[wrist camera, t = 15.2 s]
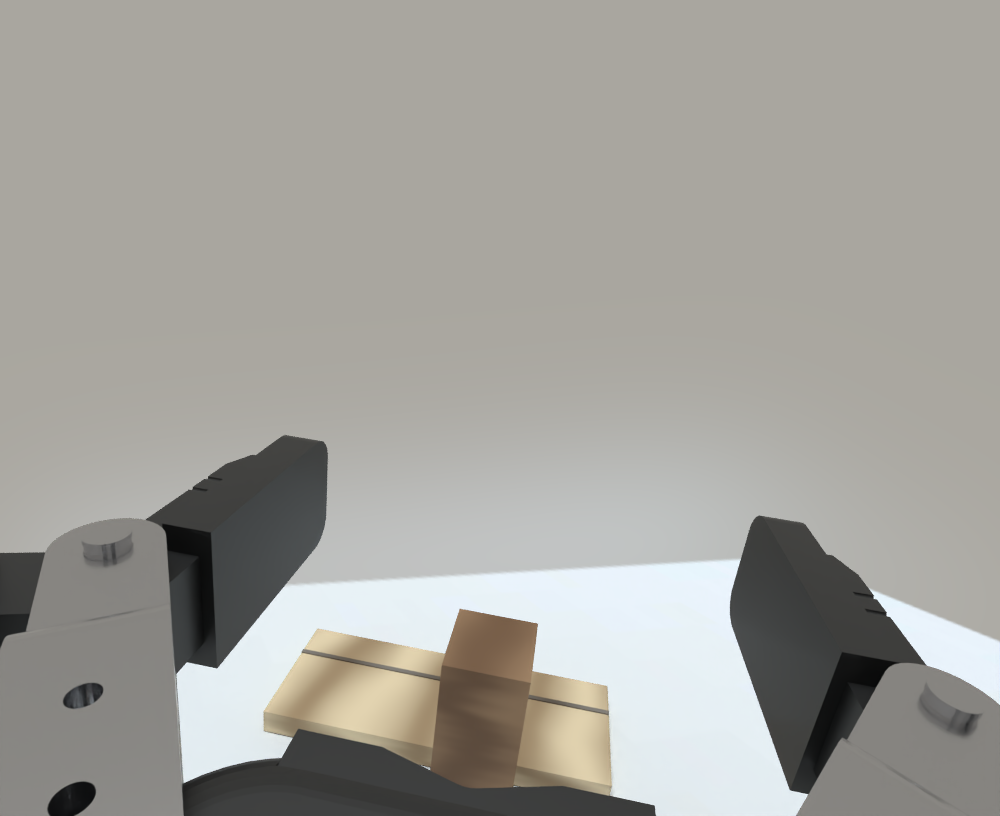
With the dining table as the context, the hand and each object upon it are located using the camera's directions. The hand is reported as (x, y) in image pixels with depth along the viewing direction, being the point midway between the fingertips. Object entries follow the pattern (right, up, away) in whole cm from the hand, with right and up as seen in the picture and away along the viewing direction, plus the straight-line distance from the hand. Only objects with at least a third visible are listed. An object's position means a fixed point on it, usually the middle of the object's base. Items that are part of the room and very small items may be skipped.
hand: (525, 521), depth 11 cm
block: (-2, -21, +26) cm, 33 cm away
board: (-4, -19, +30) cm, 36 cm away
